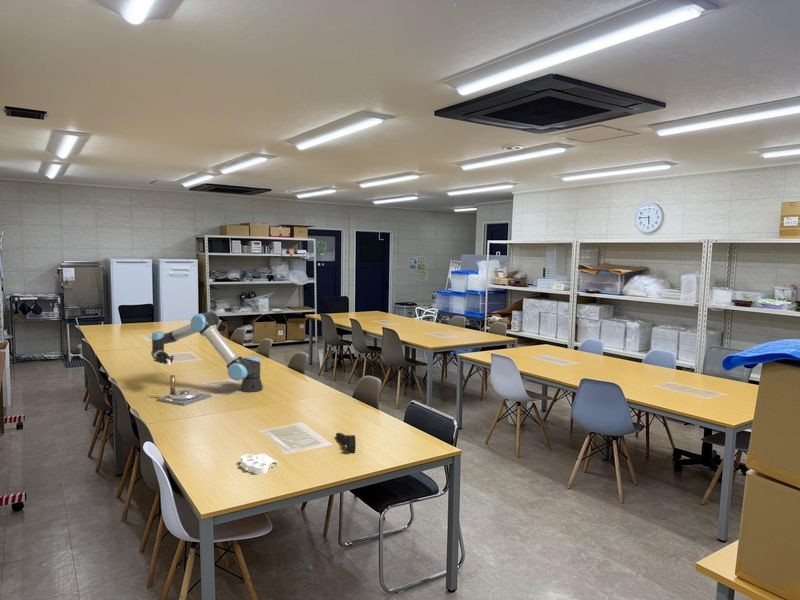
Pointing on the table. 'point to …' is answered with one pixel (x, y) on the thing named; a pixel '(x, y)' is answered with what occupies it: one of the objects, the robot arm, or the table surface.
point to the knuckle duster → (257, 463)
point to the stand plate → (184, 402)
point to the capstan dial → (181, 392)
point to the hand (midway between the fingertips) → (169, 362)
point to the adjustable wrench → (347, 441)
